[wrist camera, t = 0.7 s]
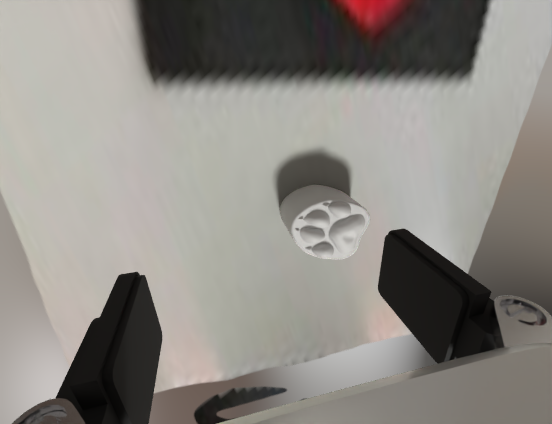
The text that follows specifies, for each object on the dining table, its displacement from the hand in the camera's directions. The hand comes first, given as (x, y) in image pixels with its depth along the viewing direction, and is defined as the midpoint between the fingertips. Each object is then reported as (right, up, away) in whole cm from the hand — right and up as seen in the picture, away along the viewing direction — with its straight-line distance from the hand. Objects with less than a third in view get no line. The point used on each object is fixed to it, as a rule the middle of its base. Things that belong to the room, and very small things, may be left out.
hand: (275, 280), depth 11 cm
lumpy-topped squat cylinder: (+7, +3, +40) cm, 41 cm away
